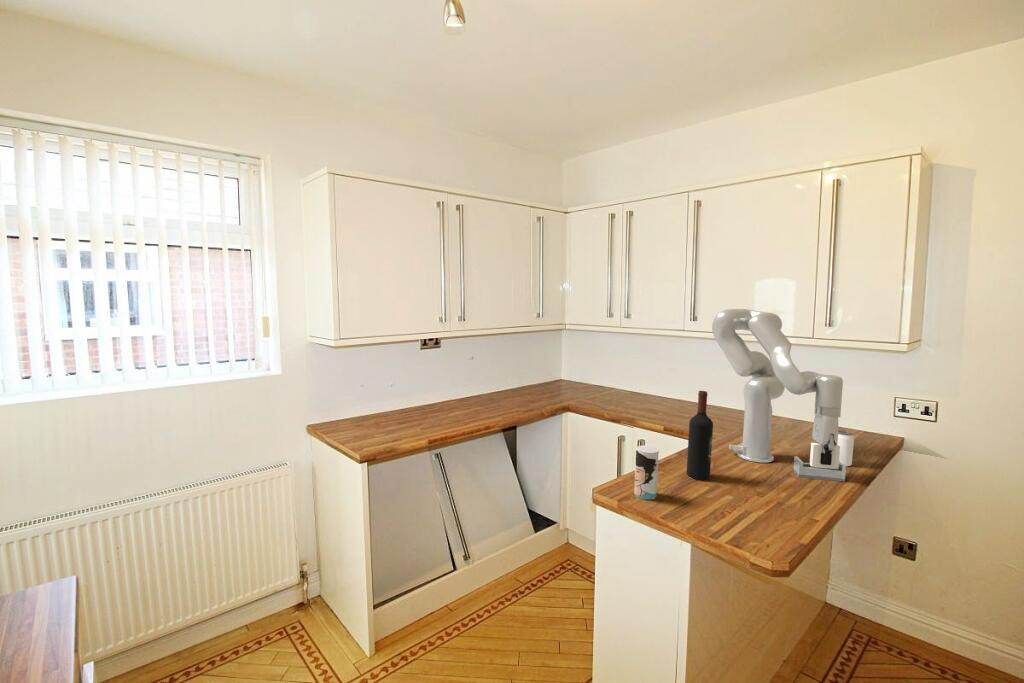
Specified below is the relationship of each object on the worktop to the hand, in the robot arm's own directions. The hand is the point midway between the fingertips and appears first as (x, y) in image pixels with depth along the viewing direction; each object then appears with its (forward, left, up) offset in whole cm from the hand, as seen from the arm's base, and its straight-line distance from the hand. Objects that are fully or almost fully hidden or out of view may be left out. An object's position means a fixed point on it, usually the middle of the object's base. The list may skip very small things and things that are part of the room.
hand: (823, 462), depth 166 cm
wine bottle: (-42, -12, -5) cm, 44 cm away
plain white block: (0, 0, -2) cm, 2 cm away
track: (-1, 0, -5) cm, 5 cm away
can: (+12, +17, -5) cm, 21 cm away
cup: (-60, -33, -5) cm, 69 cm away
